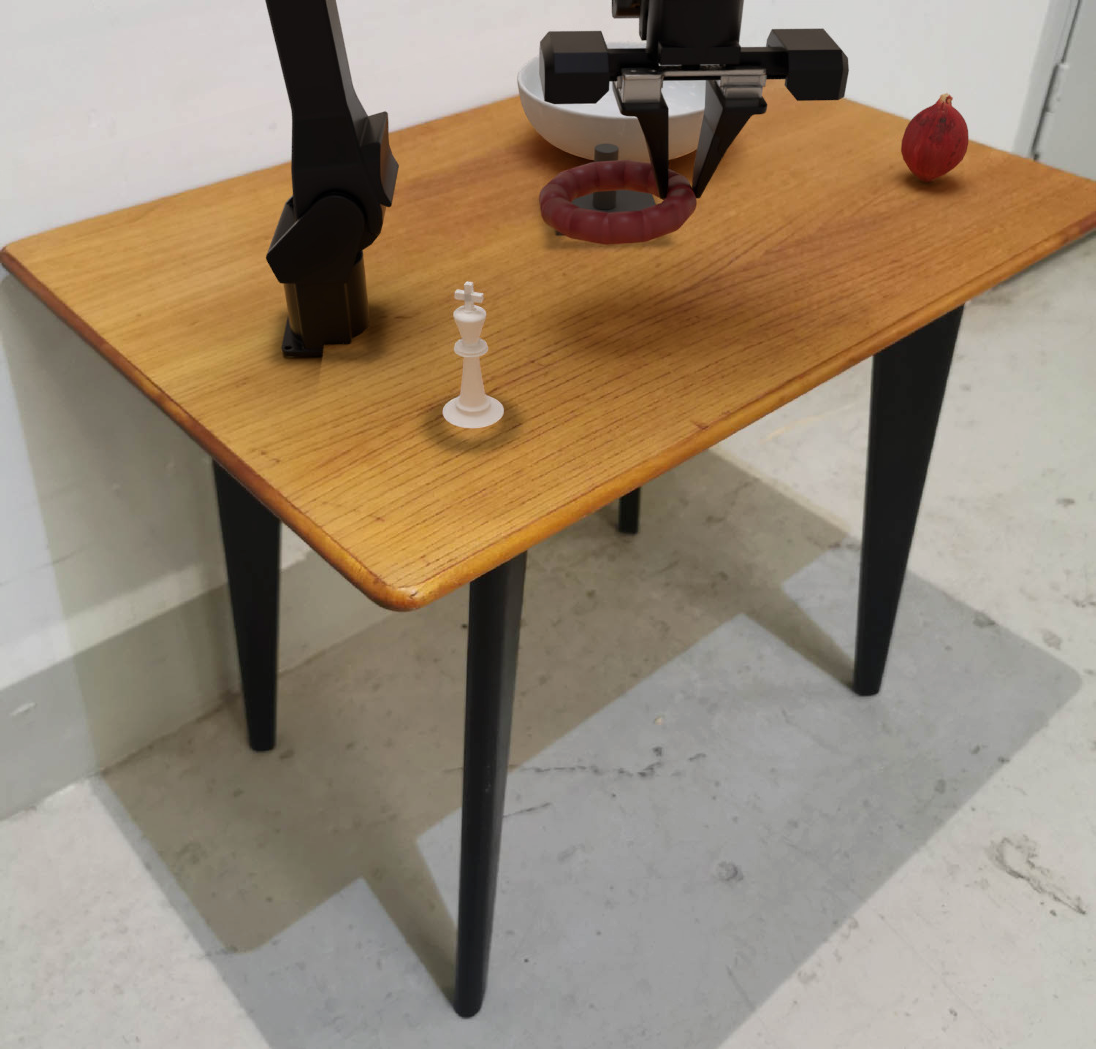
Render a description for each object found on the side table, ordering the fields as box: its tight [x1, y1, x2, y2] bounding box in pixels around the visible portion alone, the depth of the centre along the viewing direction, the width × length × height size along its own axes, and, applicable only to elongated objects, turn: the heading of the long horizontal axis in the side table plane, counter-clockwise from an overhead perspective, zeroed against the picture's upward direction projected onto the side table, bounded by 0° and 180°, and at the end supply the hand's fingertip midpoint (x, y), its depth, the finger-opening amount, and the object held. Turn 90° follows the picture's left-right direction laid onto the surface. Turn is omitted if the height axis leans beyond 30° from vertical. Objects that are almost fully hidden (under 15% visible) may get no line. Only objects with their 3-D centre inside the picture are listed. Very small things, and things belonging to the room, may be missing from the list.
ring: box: [538, 160, 698, 246], centre depth 76 cm, size 10×10×2 cm
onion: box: [900, 92, 969, 183], centre depth 102 cm, size 6×6×8 cm
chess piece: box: [442, 281, 505, 429], centre depth 70 cm, size 5×5×10 cm
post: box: [554, 144, 657, 236], centre depth 95 cm, size 9×9×6 cm
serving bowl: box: [516, 41, 706, 163], centre depth 108 cm, size 21×21×7 cm
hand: (679, 196), depth 76 cm, fingers closed on ring, 2 cm apart
